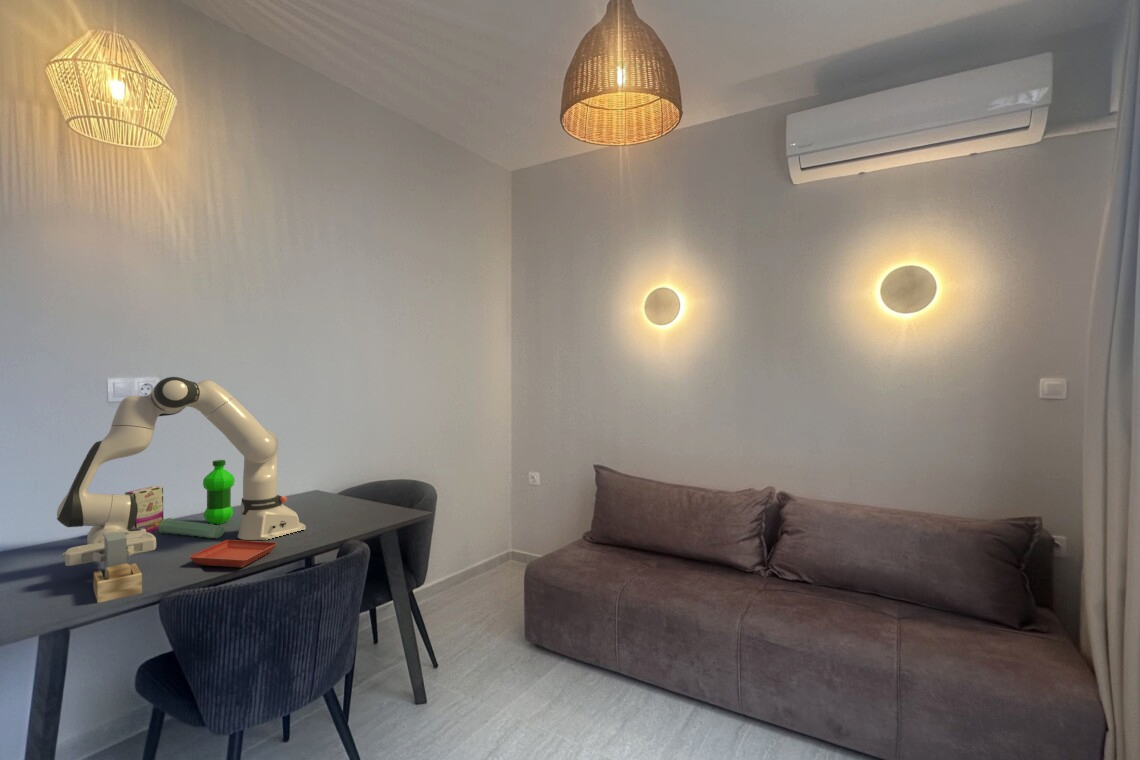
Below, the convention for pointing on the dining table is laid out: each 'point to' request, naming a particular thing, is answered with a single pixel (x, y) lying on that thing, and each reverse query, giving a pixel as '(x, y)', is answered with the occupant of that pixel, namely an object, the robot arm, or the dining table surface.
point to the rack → (117, 585)
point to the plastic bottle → (218, 494)
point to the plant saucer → (233, 553)
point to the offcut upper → (118, 571)
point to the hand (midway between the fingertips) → (115, 556)
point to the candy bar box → (148, 507)
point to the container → (190, 528)
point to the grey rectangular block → (115, 549)
